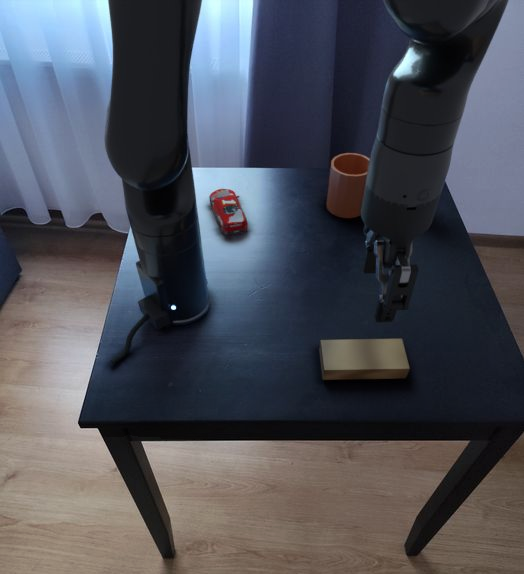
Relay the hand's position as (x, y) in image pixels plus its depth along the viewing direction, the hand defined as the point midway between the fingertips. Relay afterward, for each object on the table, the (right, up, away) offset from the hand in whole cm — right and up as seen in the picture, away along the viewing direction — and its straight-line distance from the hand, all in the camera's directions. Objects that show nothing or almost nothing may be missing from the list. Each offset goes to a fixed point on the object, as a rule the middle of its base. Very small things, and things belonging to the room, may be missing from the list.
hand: (377, 294), depth 60 cm
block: (0, -9, +10) cm, 13 cm away
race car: (-21, +19, +32) cm, 43 cm away
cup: (+2, +21, +34) cm, 40 cm away
